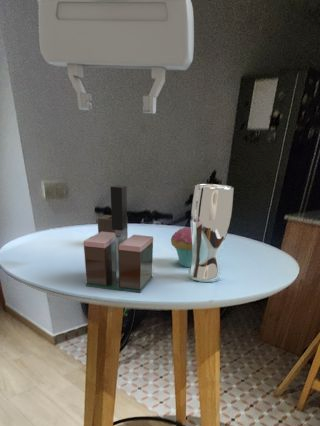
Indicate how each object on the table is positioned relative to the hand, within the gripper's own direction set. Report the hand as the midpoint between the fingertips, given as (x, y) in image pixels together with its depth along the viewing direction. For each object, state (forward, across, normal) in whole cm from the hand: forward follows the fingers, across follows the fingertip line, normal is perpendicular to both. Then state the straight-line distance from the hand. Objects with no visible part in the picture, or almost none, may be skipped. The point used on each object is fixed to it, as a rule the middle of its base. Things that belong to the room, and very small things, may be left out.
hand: (116, 111), depth 51 cm
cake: (+24, 0, 0) cm, 24 cm away
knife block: (+24, -10, +25) cm, 36 cm away
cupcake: (+24, +10, +16) cm, 31 cm away
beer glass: (+24, +14, +8) cm, 29 cm away
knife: (+23, 0, 0) cm, 23 cm away
